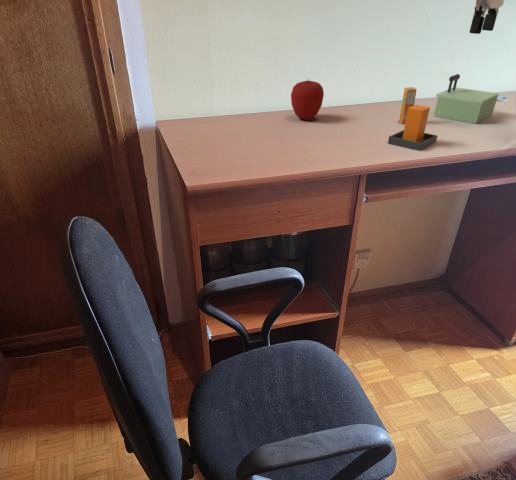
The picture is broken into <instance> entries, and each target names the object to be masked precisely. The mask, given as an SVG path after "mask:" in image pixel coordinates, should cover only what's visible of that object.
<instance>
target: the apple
mask: <svg viewBox="0 0 516 480" xmlns="http://www.w3.org/2000/svg"><path fill="white" fill-rule="evenodd" d="M307 79H308V80H304V81H303V80H302V81H299V82H297V83H296V84H295V85H294V86H292V90H291V93H290V101H291V108H292V110H293V112H294V114H295V116H297V117H298V118H299V119H301V120H305V121H310V120H312V119H314V118H315V117H316V116H317V115H318V113H319V112H320V110H321V108H322V106H323V101H324V96H325V92H324V87H323V86H322V84H320V83H319V82H317V81H313V80H310V79H309V78H307Z"/></svg>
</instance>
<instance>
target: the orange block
mask: <svg viewBox="0 0 516 480" xmlns="http://www.w3.org/2000/svg"><path fill="white" fill-rule="evenodd" d="M430 110H431V107H429V106H424V105H420V104H419V105H418V104H414V106H412V107H409V108H408V112H407V117H406V122H405V124H404V128H403V130H404V132H403V138H402V139H405V140H410V141H414V142H419V143H420V142H422V141H423V136H424V133H426V127H427V123H428V119H429V114H430Z"/></svg>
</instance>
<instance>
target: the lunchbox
mask: <svg viewBox="0 0 516 480" xmlns="http://www.w3.org/2000/svg"><path fill="white" fill-rule="evenodd" d="M497 100H498V96H497V97H495V98H493V99H491V100H489V101H487V102H485V103H483V104H478V103H472V102H466V101H460V100H454V99H447V98H441V97H437V100H436V104H435V108H434V114H433V117H438V118H443V119H448V120H454V121H459V122H464V123H469V124H475V125H476V124H479V123H480V122H482V121H484V120H486V119H488V118H490V117H491V116H493V113H494V110H495V106H496V104H497Z"/></svg>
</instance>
